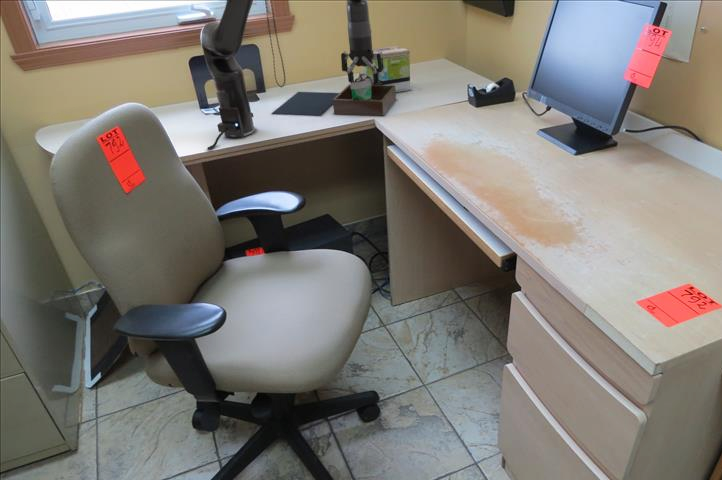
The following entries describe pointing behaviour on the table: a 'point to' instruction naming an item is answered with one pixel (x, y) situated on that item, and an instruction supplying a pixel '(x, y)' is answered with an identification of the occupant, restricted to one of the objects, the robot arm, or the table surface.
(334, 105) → the crate
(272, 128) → the table surface
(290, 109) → the desk mat
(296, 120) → the table surface
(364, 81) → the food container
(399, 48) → the tea box
